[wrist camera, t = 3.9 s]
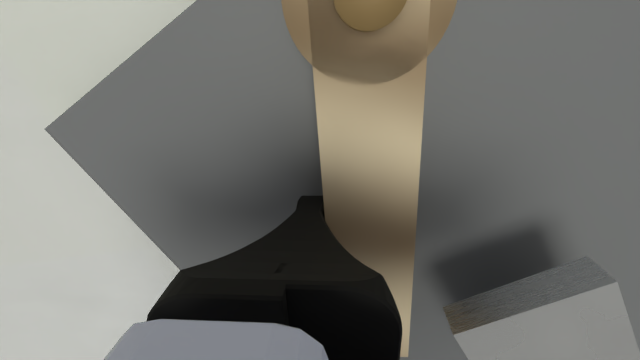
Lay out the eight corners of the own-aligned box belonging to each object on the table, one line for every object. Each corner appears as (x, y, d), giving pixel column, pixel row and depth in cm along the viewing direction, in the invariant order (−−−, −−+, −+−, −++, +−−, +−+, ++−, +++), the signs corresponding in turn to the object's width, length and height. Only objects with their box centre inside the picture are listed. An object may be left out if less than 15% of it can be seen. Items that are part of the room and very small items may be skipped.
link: (281, -83, 9) (258, -130, 6) (448, -105, 8) (489, -164, 6) (322, 325, 15) (319, 375, 13) (416, 326, 15) (429, 378, 12)
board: (342, 417, 21) (342, 437, 20) (69, 122, 13) (44, 129, 12) (682, 323, 15) (708, 344, 14) (544, -270, 8) (576, -322, 7)
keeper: (426, 264, 13) (453, 335, 10) (543, 217, 12) (617, 281, 9) (489, 369, 16) (526, 453, 13) (591, 341, 15) (663, 426, 11)
